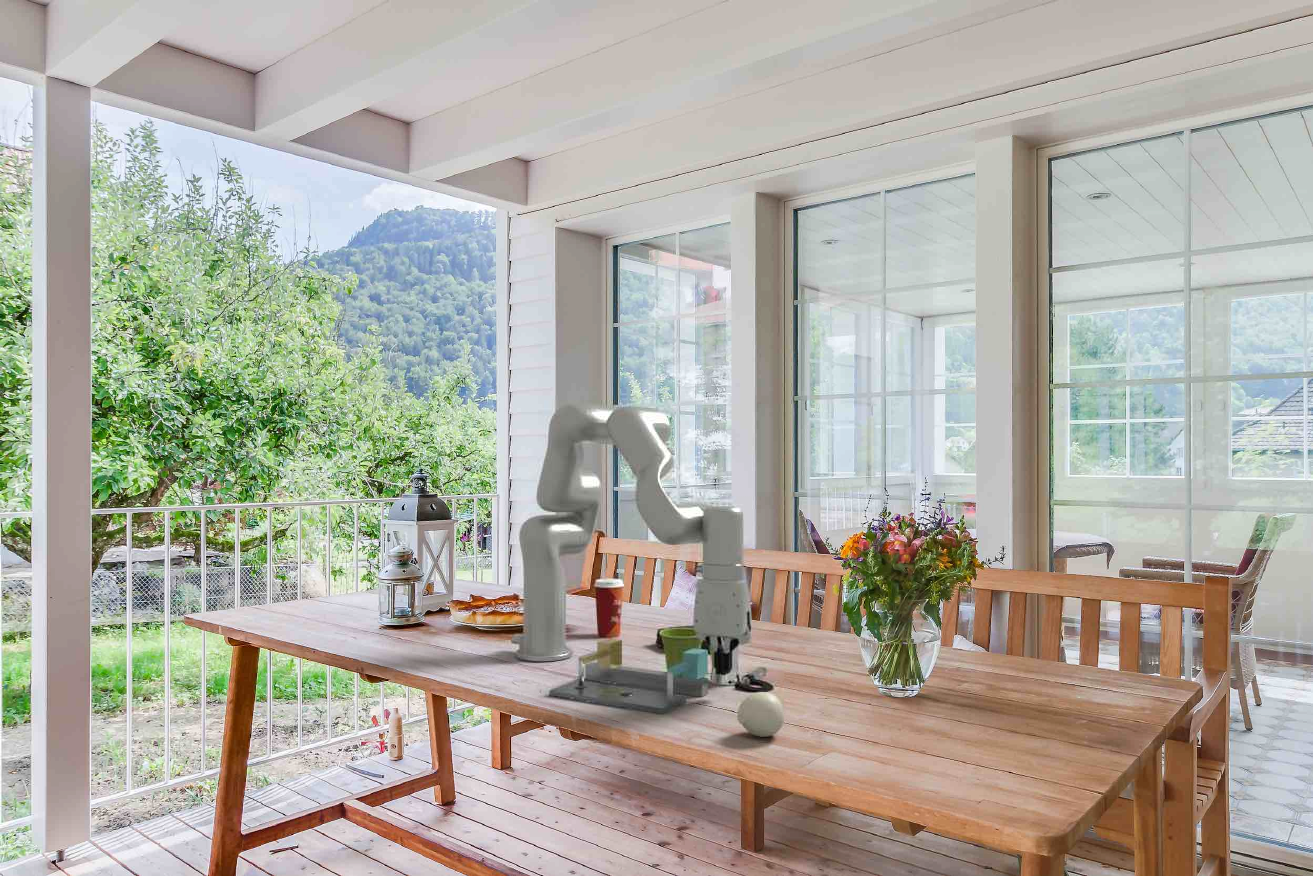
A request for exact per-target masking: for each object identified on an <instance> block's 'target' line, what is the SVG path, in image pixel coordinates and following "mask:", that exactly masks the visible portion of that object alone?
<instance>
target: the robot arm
mask: <svg viewBox="0 0 1313 876" xmlns="http://www.w3.org/2000/svg"><path fill="white" fill-rule="evenodd" d="M671 431H672V430H671V424H670V421H669V419H668V417H667V415H666V414H665V413H664V412H663V411H661V409H660V410H659V409H657V408H655V407H646V406H633V405H629V406H615V405H602V404H595V403H594V404H593V403H570V404H569V403H568V404H565V405H563V406H560V407H559V408H558V409H557V410H555V411H554V413H553V415H552V416H551V419H550V421H549V426H548V435H547V437H548V438H547V449H546V451H545V452H546V453H545V456H544V458H543V459H544V460H543V464H542V468H541V472H540V477H539V481H538V485H537V489H536V498H535V499H536V502H537V505H538V506H539V507H540V509H542V510H544V512H545V511H546V512H549V513H550V512H551V513H554V514H540V515H535V516H532V517H530V518H528V519H527V520H525V521H524V522H523V523H522V525H521V526H520V528H519V529H520V530H519V534H518V537H519V539H518V540H519V546H520V553H521V556H522V558H521V559H522V569H523V602H522V603H523V604H522V605H523V613H522V614H523V615H522V616H523V622H522V623H523V624H522V631H523V633H521V634H520V633H514V635H513V637H512V638H511V640H510V643H511V644H515V645H518V646H519V647H518V648H519V649H517V650H516V651H515V658H518V659H519V660H522V661H529V662H554V661H555V662H557V661H561V660H565V659H568V658H571V657H572V656H573V653H574V652H573V649H572V648H571V647H568V646H566V643H567V642H566V641H567V640H566V639H567V638H566V637H567V636H566V634H567V630H566V629H567V626H566V625H567V624H566V623H567V622H566V621H567V617H566V616H567V578H566V577H567V576H566V571H565V569H564V567H563V565H562V563H561V561H560V559H559V557H563V556H573V555H578V554H579V555H580V554H582V553H583V552H585V551H586V550H587V549H588V548H589V547H590V545H591V542H592V540H593V536H594V535H595V534H594V533H595V530H596V525H597V521H598V519H599V518H598V517H599V513H600V511H601V507H602V502H603V494H604V493H603V492H604V491H603V486H602V482H601V480H600V478H599V477H598V475H596V473H594V472H592V471H590V470H584V469H582V468H583V464H584V460H585V452H584V448H583V444H594V445H595V444H597V445H613V446H614V445H615V447H616V449H617V450H618V452H619V453H620V455H621V457H622V458H623V460H624V461H625V463H626V464H627V466H628V467H629V469H630V470H631V472H632V474H633V475H634V477H635V478H636V483H635V491H634V493H635V503H636V508H637V510H638V513H639V514H640V516H641V518H642V520H643V521H644V523H645V524H646V526H647V527H648V529H649V530H650V532H651V534H653V536H654V537H655V539H657V540H658V541H659V542H661V543H663V544H665V545H669V546H677V545H684V544H687V545H688V544H700V543H701V544H702V562H701V565H698V564H697V566H696V572H697V573H700V574H701V577H702V579H699V580H698V581H697V585H696V592H695V597H694V604H693V605H694V607H693V622H692V623H693V627H694V631H695V632H696V637H697V638H698V639H701V640H704V641H706V642H707V643H708V644H709V646H710V647H711V650H712V651H713V652H714V668H716V674H717V675H719V674H721V675H726V674H728V673H730V671H731V669H732V651H734V650H735V648H736V647H737V646H738V645H746V644H749V643H751V642H752V637H751V632H752V606H751V598H750V591H749V586H748V583H747V581H746V580H744V512H743V510H742V509H741V508H740V507H738V506H731V505H711V504H706V503H680V504H679V503H678V504H677V503H676V504H675V503H673V502H672V500H671V499H670V498H669V496H668V494H667V493H666V492H665V490H664V488H663V486H662V484H661V480H662V479H663V478H664V477H666V476H667V475H668V474H669V473H670V471H671V469H672V468H673V466H674V461H675V460H674V456H673V454H672V453H671V452H670V450H669V448H668V447H667V446H666V445H665V444H666V443H667V442H668V440H669V439H670V437H671ZM555 513H556V514H555ZM557 513H565V514H557ZM722 637H725V639H724V646H723V640H722Z"/></svg>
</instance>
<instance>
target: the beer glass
mask: <svg viewBox="0 0 1313 876" xmlns="http://www.w3.org/2000/svg"><path fill="white" fill-rule="evenodd" d="M724 639H725V637H722V640H723V646H724ZM741 645H742V644H741ZM741 645H738V646H737V647H736V648H735V650H734V651H732V669H731V671H730V673H728V674H726V675H721V674H719V675H717V674H716V668H714V652H713V651H712V650H711V647H710V646H709V648H710V654H709V655H710V659H711V661H710V662H711V670H710V675H709V682H710V684H712V685H715V686H724V687H725V686H727V685H730V686H734V685H735V684H736V683H738V682H741V678H740V677H741V676H740V671H739V657H740V652H741V651H740V650H741ZM727 687H728V686H727Z"/></svg>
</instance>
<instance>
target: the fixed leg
mask: <svg viewBox="0 0 1313 876" xmlns="http://www.w3.org/2000/svg"><path fill="white" fill-rule="evenodd" d="M596 647H597V648H596V649H597V650H595V651H593V652H590V653H587V654H584V655H581V656H578V671H577V672H578V673H577V674H578V677H577V680H578V686H584V681H585V674H584V673H585V664H588V663H591V662H596V663H597V668H604V669H612V668H615V667H617V666H623V640H622V639H615V638H605V639H604V640H601V641H597V644H596Z"/></svg>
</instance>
